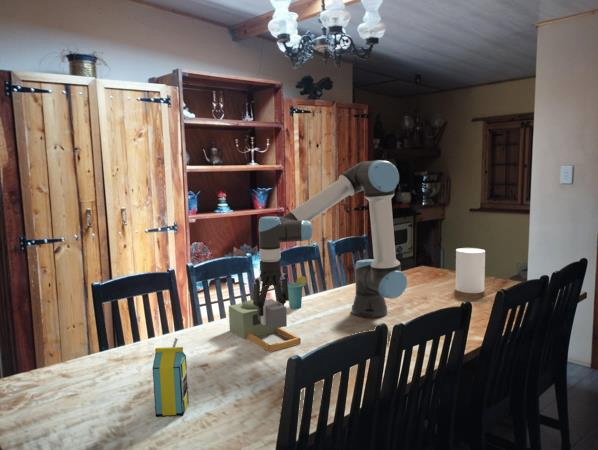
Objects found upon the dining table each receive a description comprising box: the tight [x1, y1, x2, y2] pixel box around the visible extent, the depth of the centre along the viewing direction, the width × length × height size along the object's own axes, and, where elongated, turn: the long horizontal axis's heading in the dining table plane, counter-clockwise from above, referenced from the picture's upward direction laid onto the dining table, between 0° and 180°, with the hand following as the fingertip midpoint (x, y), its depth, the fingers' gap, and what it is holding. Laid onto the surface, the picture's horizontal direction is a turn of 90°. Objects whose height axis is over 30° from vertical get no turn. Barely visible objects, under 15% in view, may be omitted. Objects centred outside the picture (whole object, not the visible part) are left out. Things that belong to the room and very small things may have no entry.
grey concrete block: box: [257, 298, 288, 329], centre depth 167 cm, size 6×12×7 cm, turn 29°
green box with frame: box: [228, 298, 302, 353], centre depth 172 cm, size 16×28×11 cm, turn 34°
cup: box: [279, 275, 308, 310], centre depth 206 cm, size 14×8×15 cm, turn 127°
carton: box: [152, 337, 189, 418], centre depth 121 cm, size 7×8×18 cm
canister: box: [455, 247, 486, 294], centre depth 229 cm, size 14×14×20 cm
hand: (271, 321), depth 167 cm, fingers closed on grey concrete block, 6 cm apart
